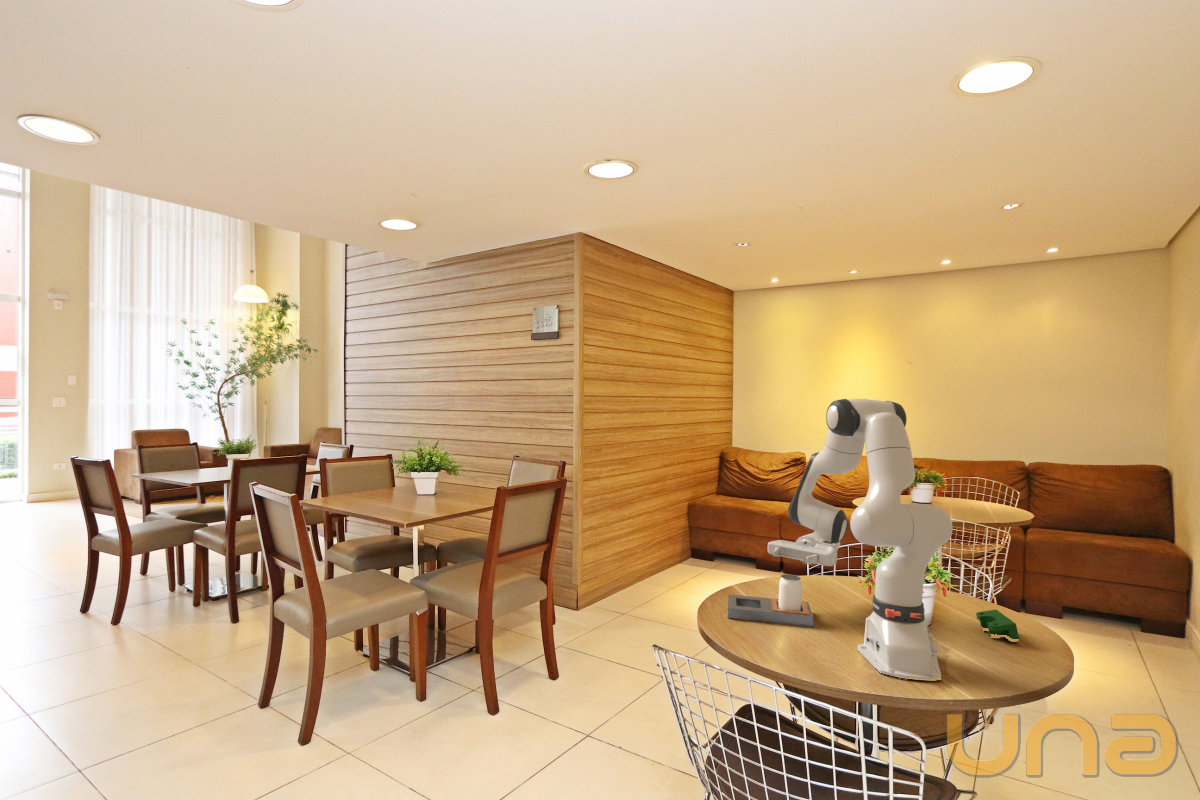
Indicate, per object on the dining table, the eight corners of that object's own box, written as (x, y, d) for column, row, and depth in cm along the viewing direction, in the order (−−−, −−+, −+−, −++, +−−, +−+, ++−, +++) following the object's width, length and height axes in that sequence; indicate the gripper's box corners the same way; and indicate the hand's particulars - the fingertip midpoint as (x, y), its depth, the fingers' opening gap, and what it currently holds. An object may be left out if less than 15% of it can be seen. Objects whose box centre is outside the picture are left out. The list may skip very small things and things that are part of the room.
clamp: (984, 645, 179) (972, 613, 183) (1006, 642, 178) (993, 609, 182) (999, 645, 168) (986, 610, 172) (1022, 641, 167) (1009, 606, 171)
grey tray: (812, 627, 178) (813, 615, 178) (727, 618, 183) (727, 607, 183) (807, 611, 190) (808, 601, 190) (728, 603, 195) (728, 593, 195)
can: (796, 622, 181) (797, 582, 180) (774, 617, 185) (776, 577, 184) (803, 616, 186) (805, 576, 186) (782, 611, 190) (784, 572, 190)
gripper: (779, 533, 201) (758, 540, 191) (842, 545, 188) (823, 552, 177) (778, 552, 201) (757, 560, 191) (841, 565, 188) (822, 574, 177)
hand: (790, 556), depth 184 cm, fingers open, 8 cm apart
